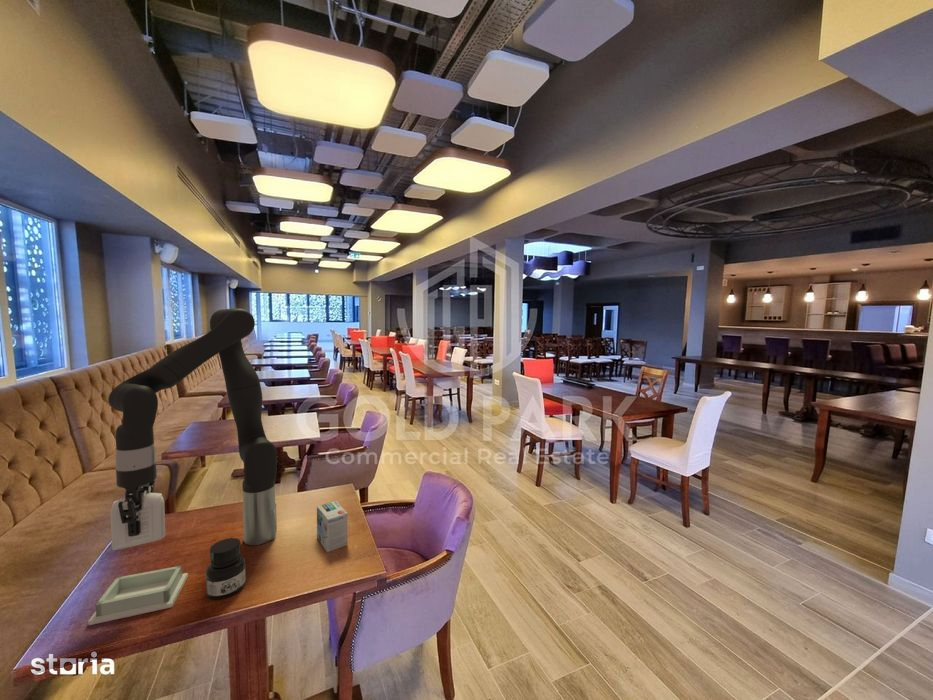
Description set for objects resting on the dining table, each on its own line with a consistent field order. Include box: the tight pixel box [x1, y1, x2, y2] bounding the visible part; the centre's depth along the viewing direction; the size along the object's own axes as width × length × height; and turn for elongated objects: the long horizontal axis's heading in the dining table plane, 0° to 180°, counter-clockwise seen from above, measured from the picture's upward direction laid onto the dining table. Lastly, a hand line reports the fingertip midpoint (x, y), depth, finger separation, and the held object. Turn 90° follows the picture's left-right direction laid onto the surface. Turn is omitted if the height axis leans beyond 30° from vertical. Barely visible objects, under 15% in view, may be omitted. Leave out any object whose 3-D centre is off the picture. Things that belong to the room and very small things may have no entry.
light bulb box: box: [316, 500, 348, 553], centre depth 121 cm, size 11×7×11 cm, turn 39°
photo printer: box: [110, 492, 166, 551], centre depth 93 cm, size 10×4×12 cm, turn 123°
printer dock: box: [87, 565, 189, 626], centre depth 95 cm, size 16×12×4 cm
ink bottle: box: [205, 537, 247, 600], centre depth 99 cm, size 10×9×12 cm
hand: (139, 529), depth 94 cm, fingers closed on photo printer, 4 cm apart
